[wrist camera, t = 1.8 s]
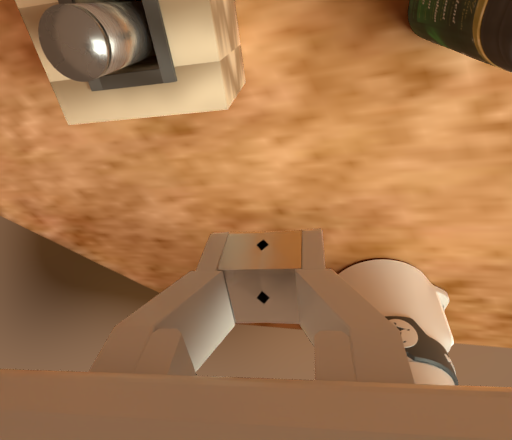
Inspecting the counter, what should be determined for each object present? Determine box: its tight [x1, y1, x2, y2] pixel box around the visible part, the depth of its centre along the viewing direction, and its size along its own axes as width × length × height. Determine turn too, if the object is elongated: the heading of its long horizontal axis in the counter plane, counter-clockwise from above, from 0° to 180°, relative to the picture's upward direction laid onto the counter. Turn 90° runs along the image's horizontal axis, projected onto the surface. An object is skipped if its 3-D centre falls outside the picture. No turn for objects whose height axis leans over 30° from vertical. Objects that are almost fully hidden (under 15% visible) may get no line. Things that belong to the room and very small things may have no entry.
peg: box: [38, 1, 156, 82], centre depth 24 cm, size 4×4×10 cm
